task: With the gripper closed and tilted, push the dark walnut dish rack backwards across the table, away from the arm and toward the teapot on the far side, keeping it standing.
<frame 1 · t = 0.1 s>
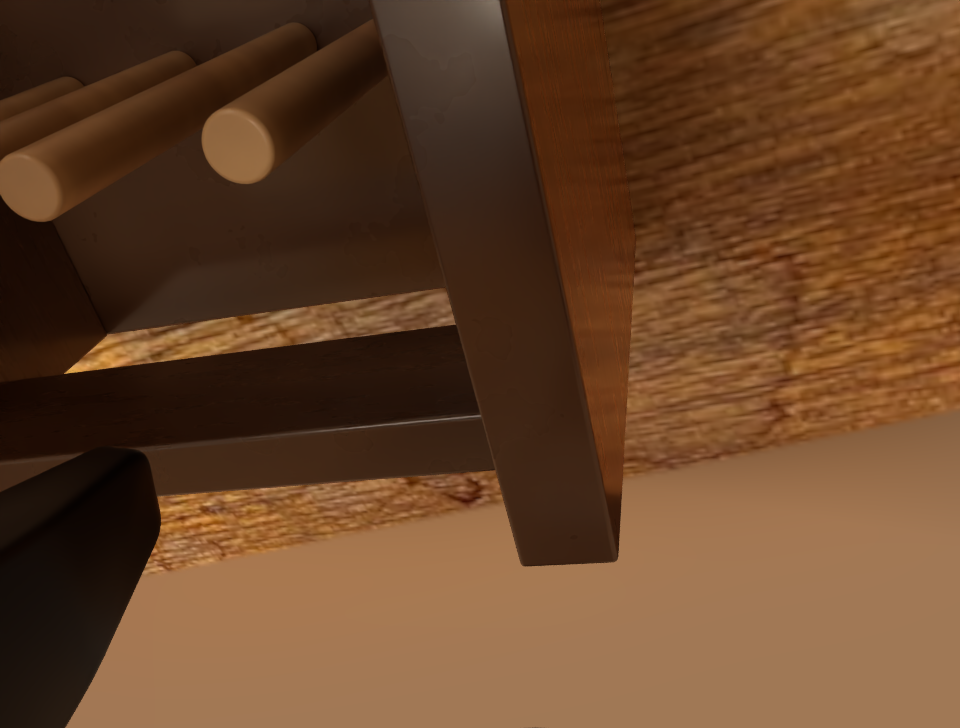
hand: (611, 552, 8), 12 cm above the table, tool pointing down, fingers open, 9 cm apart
walnut rack: (262, 45, 18), on the table
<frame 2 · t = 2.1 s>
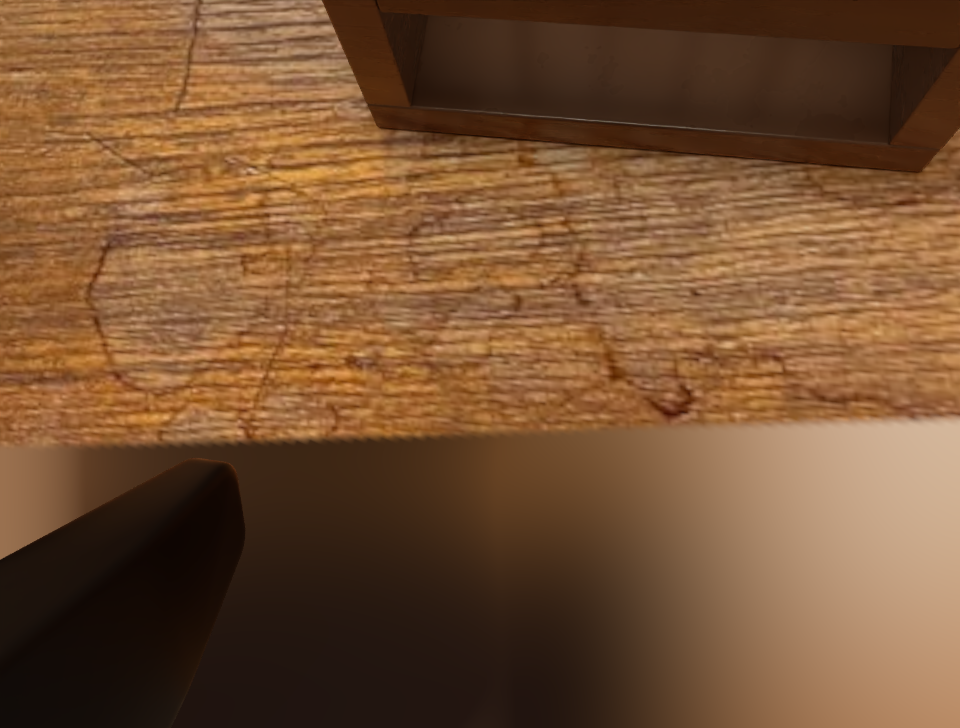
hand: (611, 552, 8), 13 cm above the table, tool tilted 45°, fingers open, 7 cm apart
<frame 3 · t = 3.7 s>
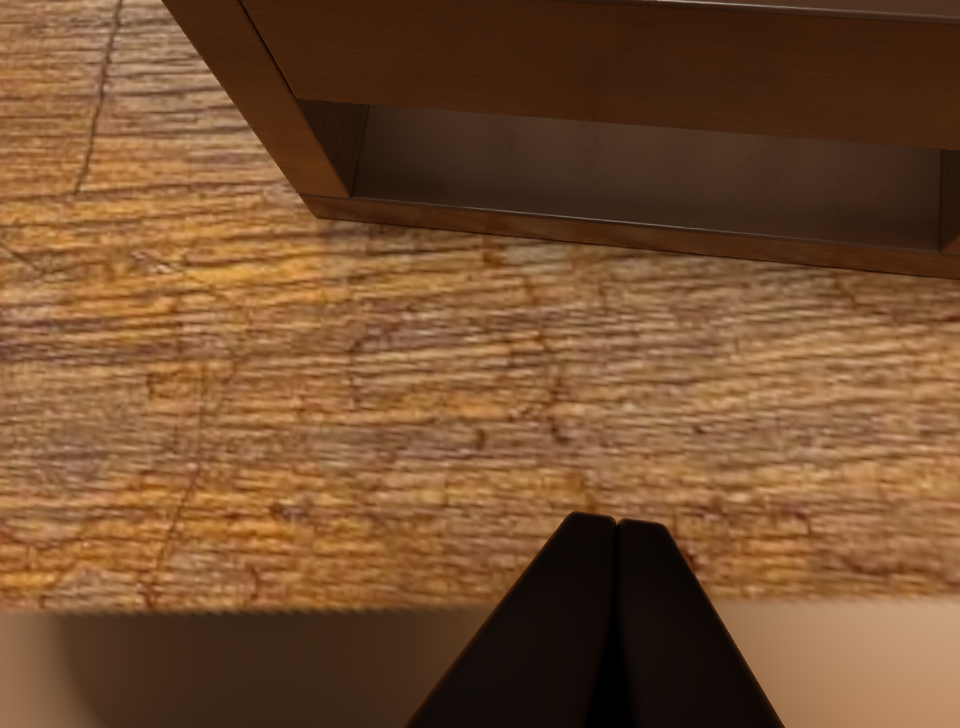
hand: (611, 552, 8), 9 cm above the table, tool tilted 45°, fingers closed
walnut rack: (653, 23, 20), on the table
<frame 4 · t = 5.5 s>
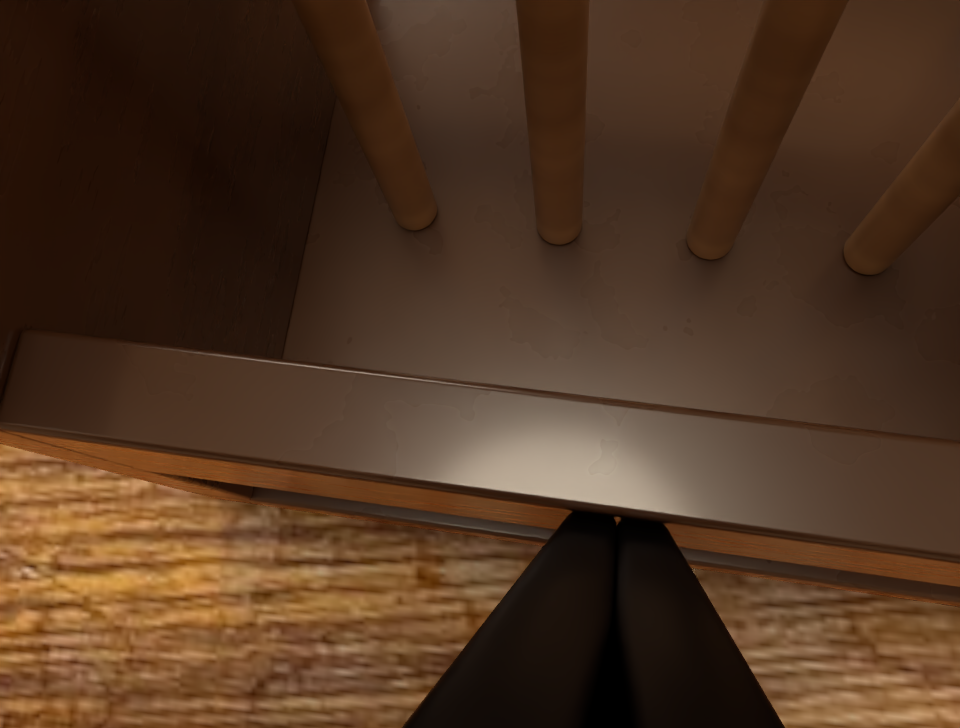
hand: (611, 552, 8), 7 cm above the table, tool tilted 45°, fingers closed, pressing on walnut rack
walnut rack: (629, 257, 16), on the table, touching gripper
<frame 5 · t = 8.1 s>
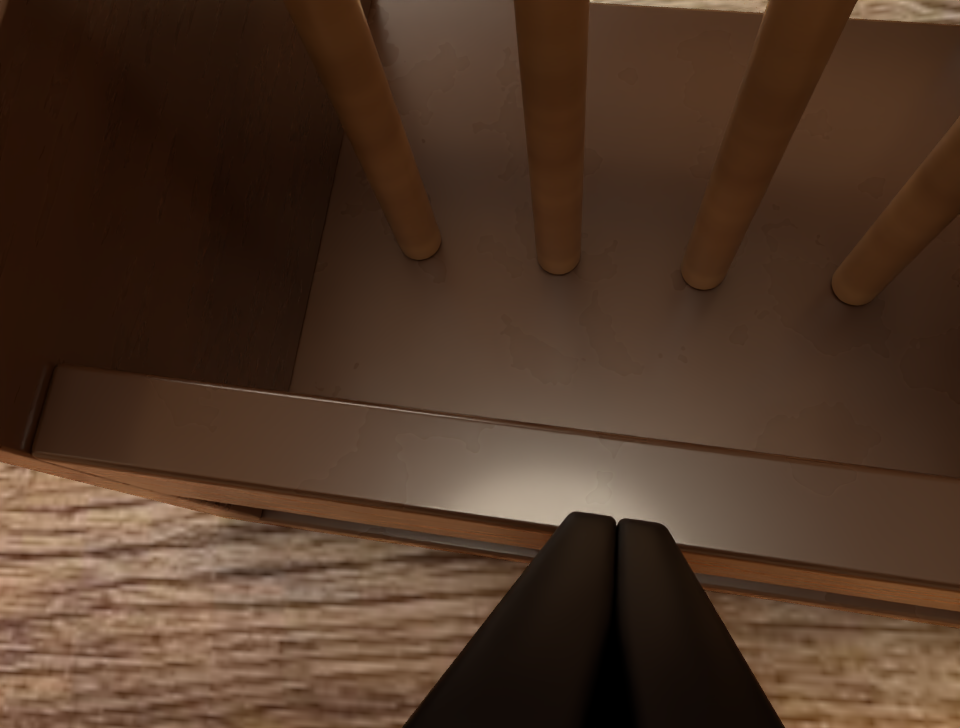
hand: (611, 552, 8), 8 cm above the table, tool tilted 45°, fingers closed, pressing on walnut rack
walnut rack: (625, 286, 17), on the table, touching gripper
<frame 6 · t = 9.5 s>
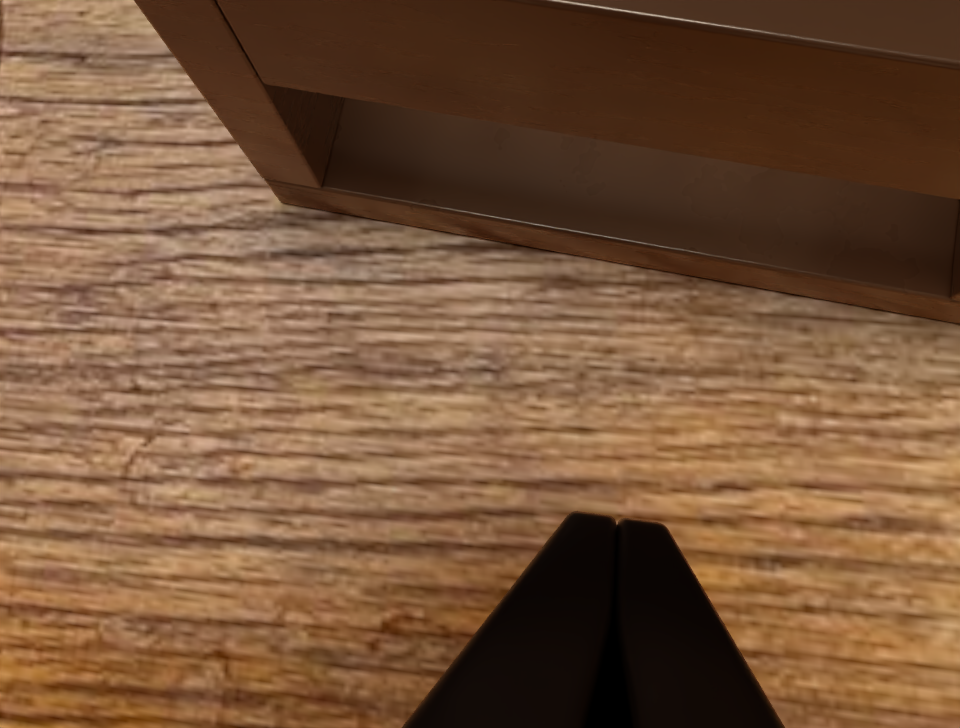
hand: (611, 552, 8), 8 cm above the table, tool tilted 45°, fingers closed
walnut rack: (662, 17, 18), on the table
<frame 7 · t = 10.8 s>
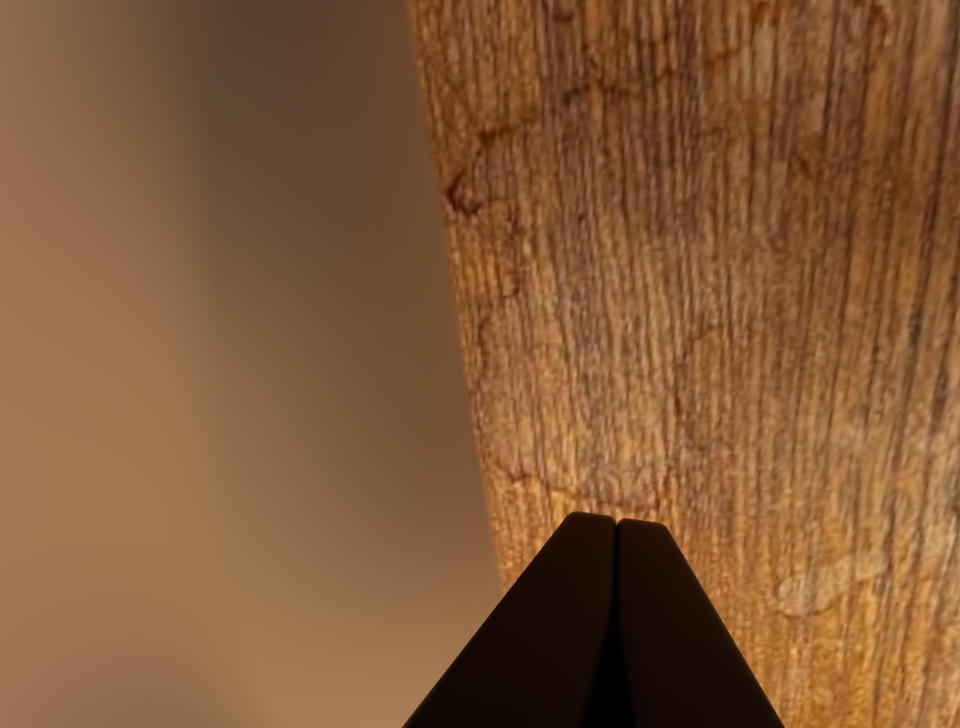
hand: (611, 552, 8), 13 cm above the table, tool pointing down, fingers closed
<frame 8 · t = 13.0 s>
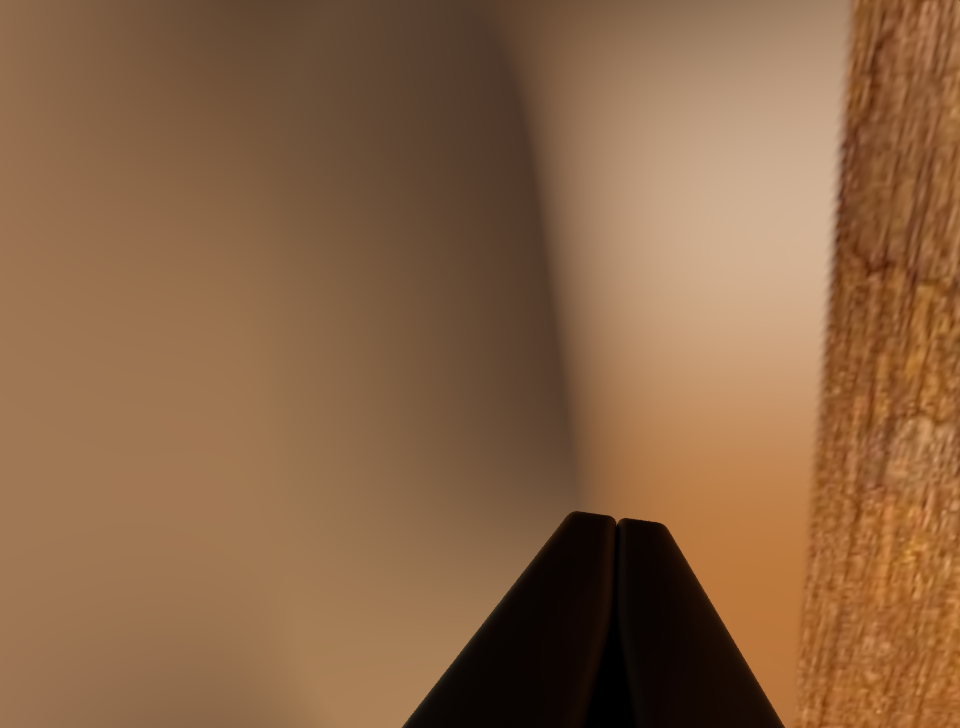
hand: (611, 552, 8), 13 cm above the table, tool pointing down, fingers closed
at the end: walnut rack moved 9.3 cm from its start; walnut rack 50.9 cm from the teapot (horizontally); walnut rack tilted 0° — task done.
